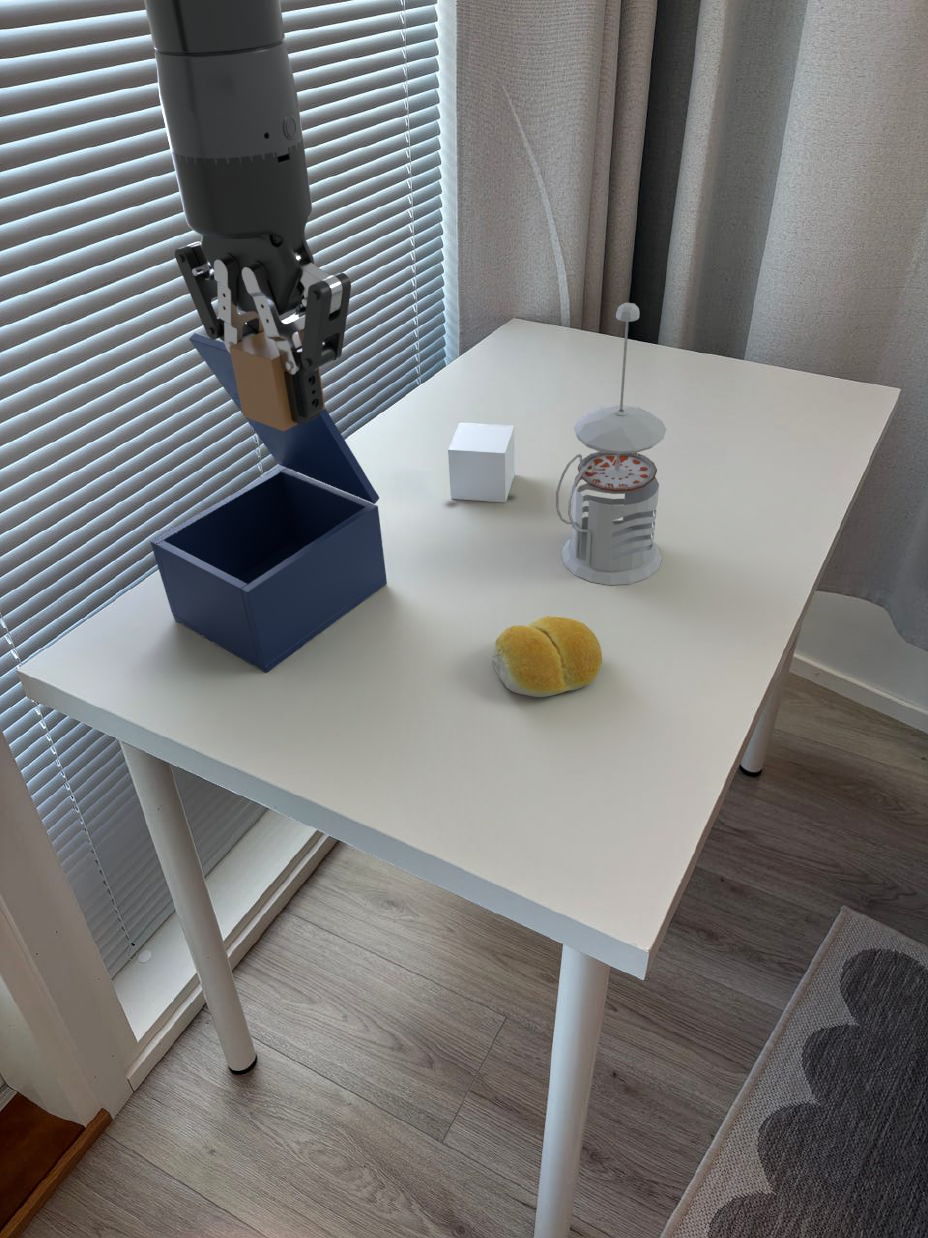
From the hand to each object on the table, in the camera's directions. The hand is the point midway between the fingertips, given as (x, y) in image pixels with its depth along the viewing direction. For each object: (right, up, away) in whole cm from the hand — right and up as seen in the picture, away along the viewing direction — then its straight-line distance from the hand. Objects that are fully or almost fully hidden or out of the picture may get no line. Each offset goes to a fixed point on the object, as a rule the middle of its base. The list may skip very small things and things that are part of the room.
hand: (283, 409), depth 65 cm
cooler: (-5, -13, +24) cm, 28 cm away
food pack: (0, 0, 0) cm, 0 cm away
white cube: (+14, 0, +39) cm, 42 cm away
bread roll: (+19, -19, +16) cm, 31 cm away
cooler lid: (-3, +2, +16) cm, 17 cm away
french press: (+26, -9, +28) cm, 39 cm away
